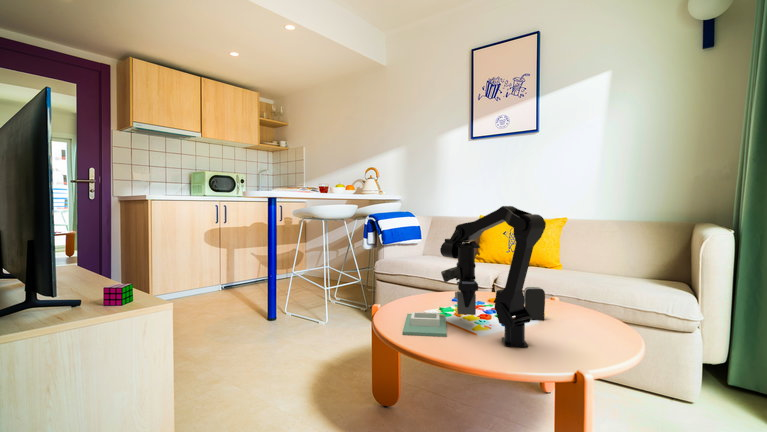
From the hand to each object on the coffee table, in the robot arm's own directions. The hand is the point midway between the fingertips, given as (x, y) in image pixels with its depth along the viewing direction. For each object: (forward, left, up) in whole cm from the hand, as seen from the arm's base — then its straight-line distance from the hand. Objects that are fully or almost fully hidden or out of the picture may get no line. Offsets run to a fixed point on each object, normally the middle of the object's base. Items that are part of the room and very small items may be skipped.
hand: (466, 305), depth 128 cm
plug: (0, 0, -3) cm, 3 cm away
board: (-2, +14, -7) cm, 16 cm away
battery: (+11, -25, -7) cm, 28 cm away
